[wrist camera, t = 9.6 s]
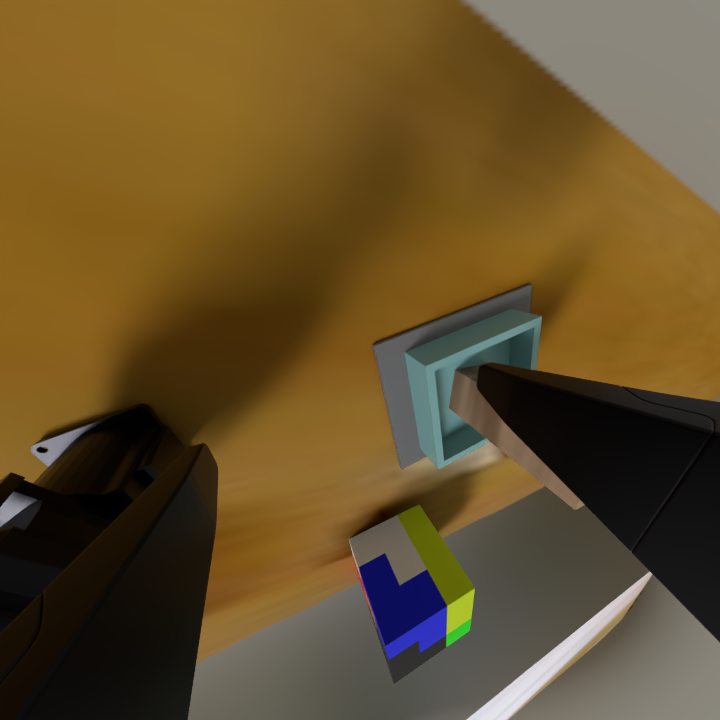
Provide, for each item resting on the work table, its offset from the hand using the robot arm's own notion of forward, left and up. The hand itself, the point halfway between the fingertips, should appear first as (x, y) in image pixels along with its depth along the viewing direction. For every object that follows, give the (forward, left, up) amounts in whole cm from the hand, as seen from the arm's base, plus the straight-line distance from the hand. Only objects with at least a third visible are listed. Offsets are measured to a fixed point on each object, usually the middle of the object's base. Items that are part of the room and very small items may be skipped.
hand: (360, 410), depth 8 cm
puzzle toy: (+1, -33, -13) cm, 36 cm away
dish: (+14, -12, -13) cm, 23 cm away
